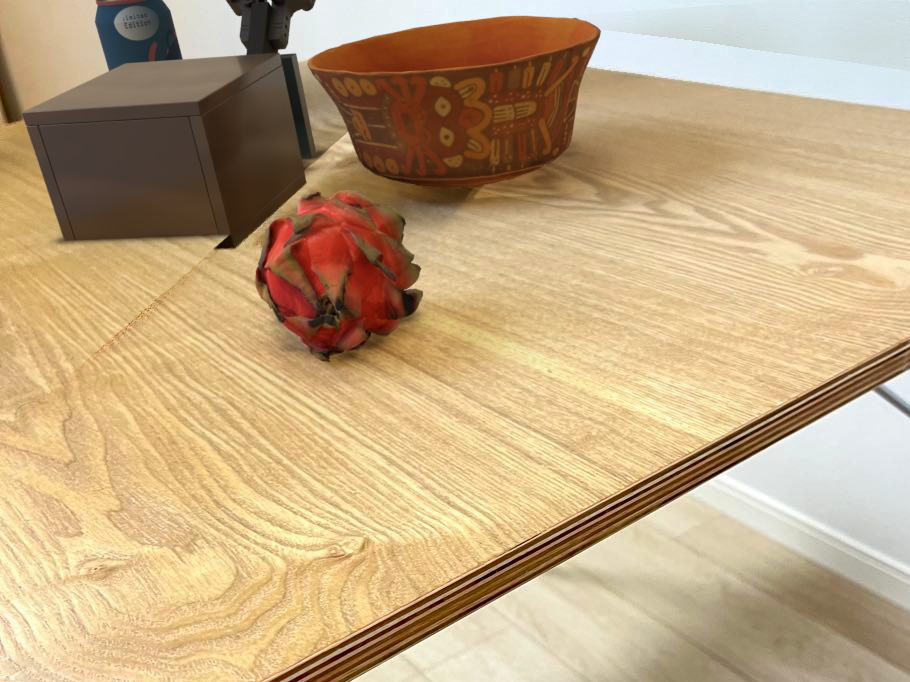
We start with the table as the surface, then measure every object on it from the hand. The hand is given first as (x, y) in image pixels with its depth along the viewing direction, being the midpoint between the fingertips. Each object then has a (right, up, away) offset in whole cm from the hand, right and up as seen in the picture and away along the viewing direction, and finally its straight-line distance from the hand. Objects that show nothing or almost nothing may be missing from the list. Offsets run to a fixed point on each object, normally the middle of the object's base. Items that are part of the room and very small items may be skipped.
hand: (259, 81), depth 97 cm
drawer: (-1, -10, -5) cm, 11 cm away
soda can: (-13, +1, +16) cm, 20 cm away
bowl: (+18, -11, -9) cm, 23 cm away
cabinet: (-2, -14, -10) cm, 18 cm away
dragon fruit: (+13, -28, -33) cm, 45 cm away
